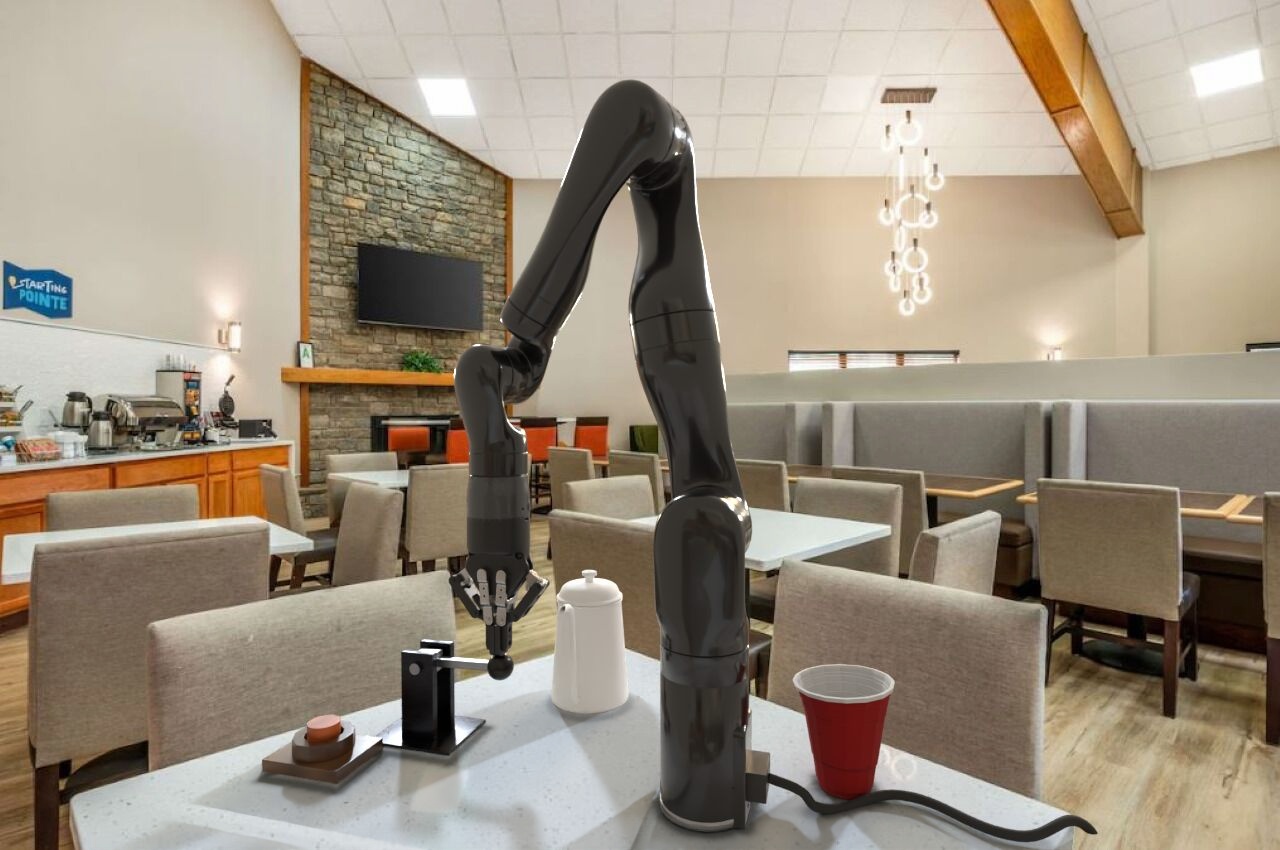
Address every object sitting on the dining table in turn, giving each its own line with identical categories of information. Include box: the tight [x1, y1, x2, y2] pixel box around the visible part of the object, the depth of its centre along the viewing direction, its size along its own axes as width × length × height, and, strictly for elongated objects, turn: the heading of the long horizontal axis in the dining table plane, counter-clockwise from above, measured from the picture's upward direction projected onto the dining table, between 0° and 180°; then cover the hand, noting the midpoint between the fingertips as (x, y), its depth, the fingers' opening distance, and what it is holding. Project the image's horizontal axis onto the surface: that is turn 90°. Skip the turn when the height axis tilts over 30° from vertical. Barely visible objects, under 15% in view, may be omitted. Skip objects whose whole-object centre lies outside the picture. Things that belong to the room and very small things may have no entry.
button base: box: [261, 720, 384, 785], centre depth 78 cm, size 10×8×4 cm
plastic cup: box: [792, 663, 896, 800], centre depth 74 cm, size 11×11×12 cm
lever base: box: [374, 638, 487, 757], centre depth 85 cm, size 11×9×12 cm
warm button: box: [306, 714, 342, 742], centre depth 78 cm, size 4×4×2 cm
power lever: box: [418, 648, 515, 681], centre depth 83 cm, size 13×3×3 cm, turn 74°
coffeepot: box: [551, 569, 629, 714], centre depth 95 cm, size 11×25×19 cm, turn 168°
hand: (499, 653), depth 82 cm, fingers closed
